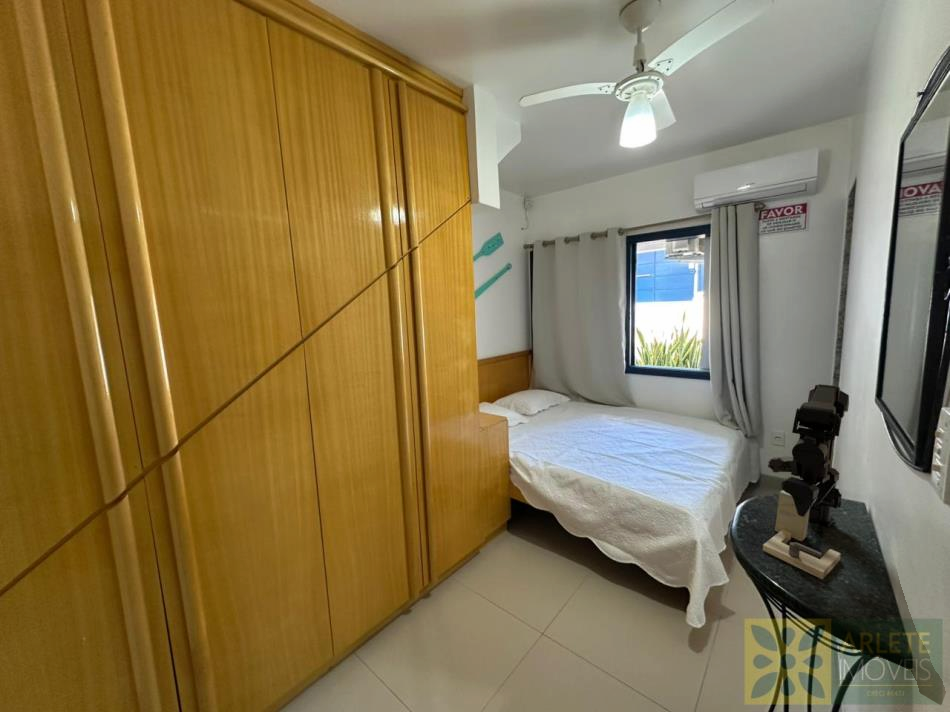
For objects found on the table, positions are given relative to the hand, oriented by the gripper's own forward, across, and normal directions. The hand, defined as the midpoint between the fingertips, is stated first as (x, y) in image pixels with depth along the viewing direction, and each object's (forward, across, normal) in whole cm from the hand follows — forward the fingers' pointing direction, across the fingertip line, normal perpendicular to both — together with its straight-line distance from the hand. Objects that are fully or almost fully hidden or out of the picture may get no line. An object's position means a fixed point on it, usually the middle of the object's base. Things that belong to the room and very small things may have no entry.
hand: (808, 510), depth 93 cm
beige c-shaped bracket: (+12, +2, 0) cm, 12 cm away
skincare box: (+12, -6, -5) cm, 15 cm away
